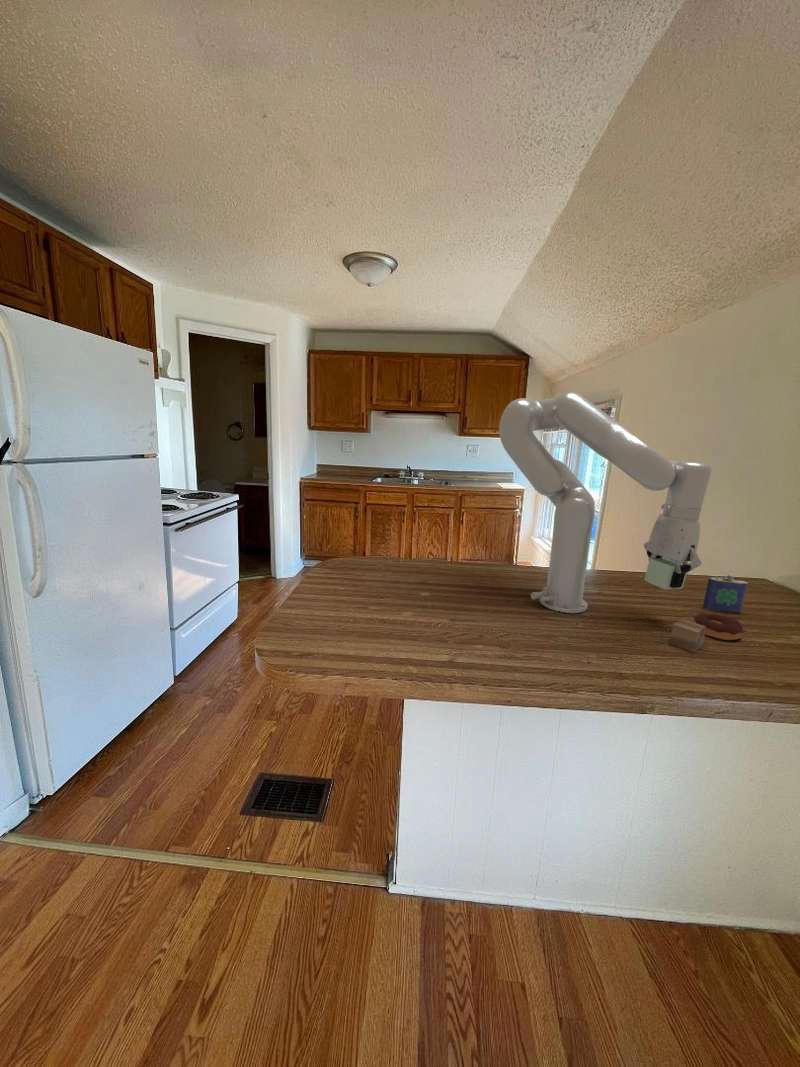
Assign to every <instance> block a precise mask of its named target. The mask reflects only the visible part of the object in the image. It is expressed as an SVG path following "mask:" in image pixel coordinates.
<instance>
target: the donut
mask: <svg viewBox="0 0 800 1067" xmlns="http://www.w3.org/2000/svg"><path fill="white" fill-rule="evenodd" d="M692 622H693V623H696V624H699V625H703V626H706V631H705V636H707V637H711V638H714V639H718V640H721V641H722V640H723V641H734V640H738V639H740V638H742V637H743V632H744V631H743V629H744V628H743V626H742V623H741V622H740V621H739V620H737V619H734V618H731V617H729V616H726V615H720V614H717V613H703V612H702V613H698V614H697V615H695V616H694V617H693V621H692Z"/></svg>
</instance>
